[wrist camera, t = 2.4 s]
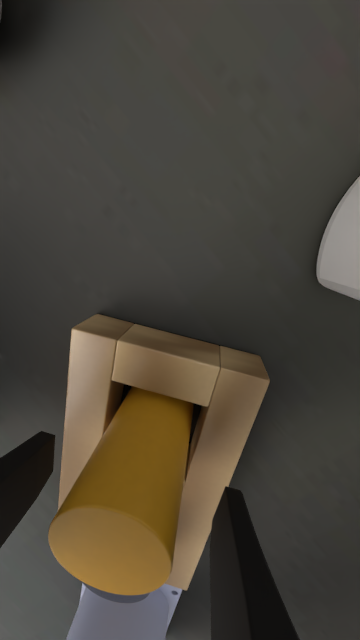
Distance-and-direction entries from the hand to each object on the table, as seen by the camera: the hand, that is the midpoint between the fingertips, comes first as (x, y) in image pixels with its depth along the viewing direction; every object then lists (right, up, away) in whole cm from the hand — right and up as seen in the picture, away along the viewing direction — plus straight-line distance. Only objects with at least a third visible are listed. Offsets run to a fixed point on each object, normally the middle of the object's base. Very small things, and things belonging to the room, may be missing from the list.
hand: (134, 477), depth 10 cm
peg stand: (0, -2, +6) cm, 6 cm away
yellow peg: (+1, +1, +5) cm, 5 cm away
